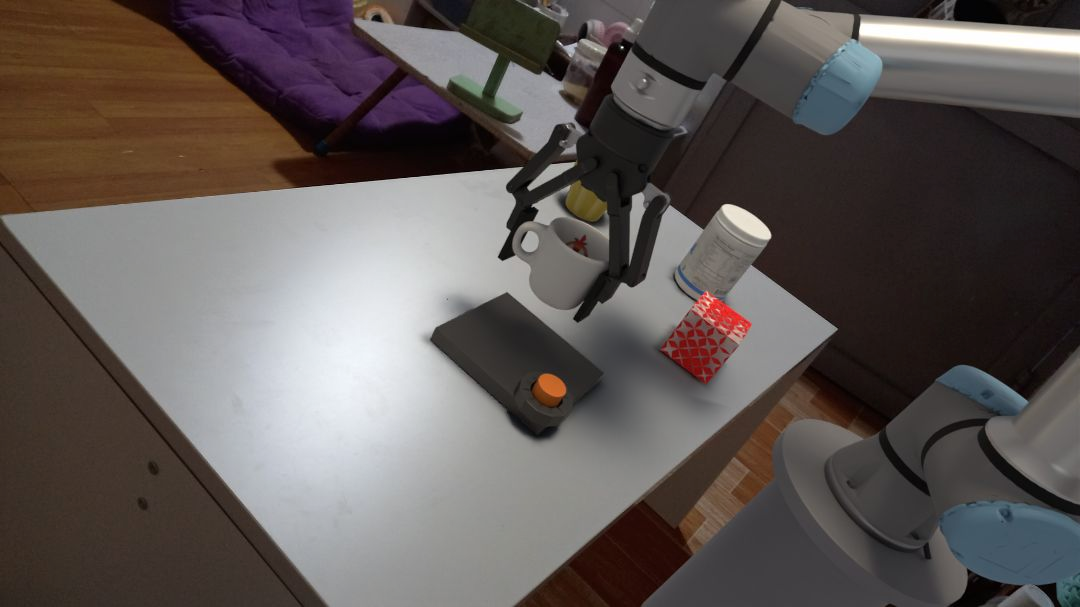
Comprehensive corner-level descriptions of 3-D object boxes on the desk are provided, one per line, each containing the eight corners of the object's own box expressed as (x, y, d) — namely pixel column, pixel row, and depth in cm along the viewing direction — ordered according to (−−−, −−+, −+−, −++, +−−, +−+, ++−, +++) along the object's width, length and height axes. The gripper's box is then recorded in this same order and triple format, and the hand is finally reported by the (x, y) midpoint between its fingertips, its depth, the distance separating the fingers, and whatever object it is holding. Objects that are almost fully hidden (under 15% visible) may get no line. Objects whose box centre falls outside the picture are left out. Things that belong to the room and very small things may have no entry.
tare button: (564, 399, 69) (571, 388, 68) (549, 412, 66) (556, 401, 65) (541, 380, 70) (548, 369, 69) (526, 392, 67) (533, 380, 66)
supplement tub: (678, 263, 116) (725, 196, 108) (724, 293, 115) (775, 227, 107) (667, 284, 108) (717, 212, 100) (715, 315, 107) (770, 246, 99)
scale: (603, 389, 78) (617, 369, 76) (539, 447, 66) (554, 425, 64) (501, 302, 83) (512, 282, 81) (423, 342, 71) (434, 319, 69)
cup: (488, 281, 69) (518, 221, 65) (509, 250, 76) (537, 194, 72) (575, 329, 69) (611, 273, 65) (589, 295, 76) (622, 242, 72)
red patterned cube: (677, 329, 97) (706, 290, 93) (720, 361, 96) (752, 323, 91) (659, 349, 91) (690, 309, 87) (706, 385, 89) (739, 345, 85)
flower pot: (614, 235, 113) (642, 188, 108) (563, 219, 109) (590, 170, 104) (599, 203, 121) (624, 158, 116) (550, 187, 116) (574, 140, 111)
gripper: (531, 46, 61) (449, 232, 72) (732, 186, 55) (607, 364, 66) (569, 48, 67) (488, 220, 78) (754, 175, 61) (636, 339, 73)
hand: (542, 286), depth 72 cm, fingers closed on cup, 10 cm apart
